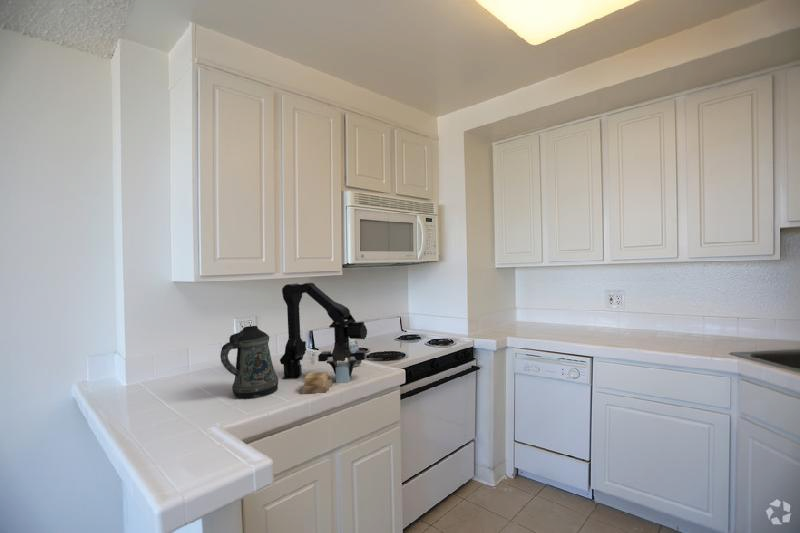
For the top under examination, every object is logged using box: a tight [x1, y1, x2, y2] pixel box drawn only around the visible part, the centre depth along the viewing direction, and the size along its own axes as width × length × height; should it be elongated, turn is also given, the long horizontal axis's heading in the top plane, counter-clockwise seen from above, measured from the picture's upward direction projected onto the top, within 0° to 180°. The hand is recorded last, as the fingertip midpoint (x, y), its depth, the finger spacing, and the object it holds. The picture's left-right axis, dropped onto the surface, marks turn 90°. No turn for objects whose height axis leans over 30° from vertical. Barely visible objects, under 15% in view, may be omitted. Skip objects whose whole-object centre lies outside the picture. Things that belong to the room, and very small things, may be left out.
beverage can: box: [346, 339, 362, 367], centre depth 175 cm, size 6×7×12 cm
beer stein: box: [219, 325, 279, 400], centre depth 143 cm, size 16×19×25 cm
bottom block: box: [301, 378, 333, 395], centre depth 144 cm, size 9×9×3 cm
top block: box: [303, 371, 329, 386], centre depth 144 cm, size 7×7×3 cm
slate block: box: [335, 363, 352, 384], centre depth 153 cm, size 5×5×6 cm
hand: (343, 376), depth 153 cm, fingers closed on slate block, 5 cm apart
